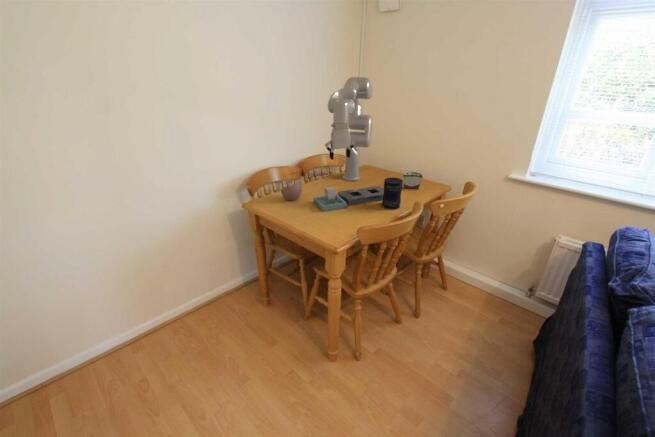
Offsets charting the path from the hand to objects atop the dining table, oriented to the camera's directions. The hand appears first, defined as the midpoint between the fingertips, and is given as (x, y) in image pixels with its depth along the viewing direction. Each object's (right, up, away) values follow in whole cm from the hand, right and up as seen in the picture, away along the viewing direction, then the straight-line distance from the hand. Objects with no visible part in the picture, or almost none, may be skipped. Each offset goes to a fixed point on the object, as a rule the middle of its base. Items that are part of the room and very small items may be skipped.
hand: (340, 158), depth 166 cm
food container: (+46, -14, +29) cm, 56 cm away
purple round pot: (-28, -22, +11) cm, 37 cm away
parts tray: (-6, -25, +3) cm, 26 cm away
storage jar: (+28, -26, +3) cm, 39 cm away
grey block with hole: (+15, -21, +13) cm, 29 cm away
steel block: (-6, -25, +3) cm, 26 cm away
